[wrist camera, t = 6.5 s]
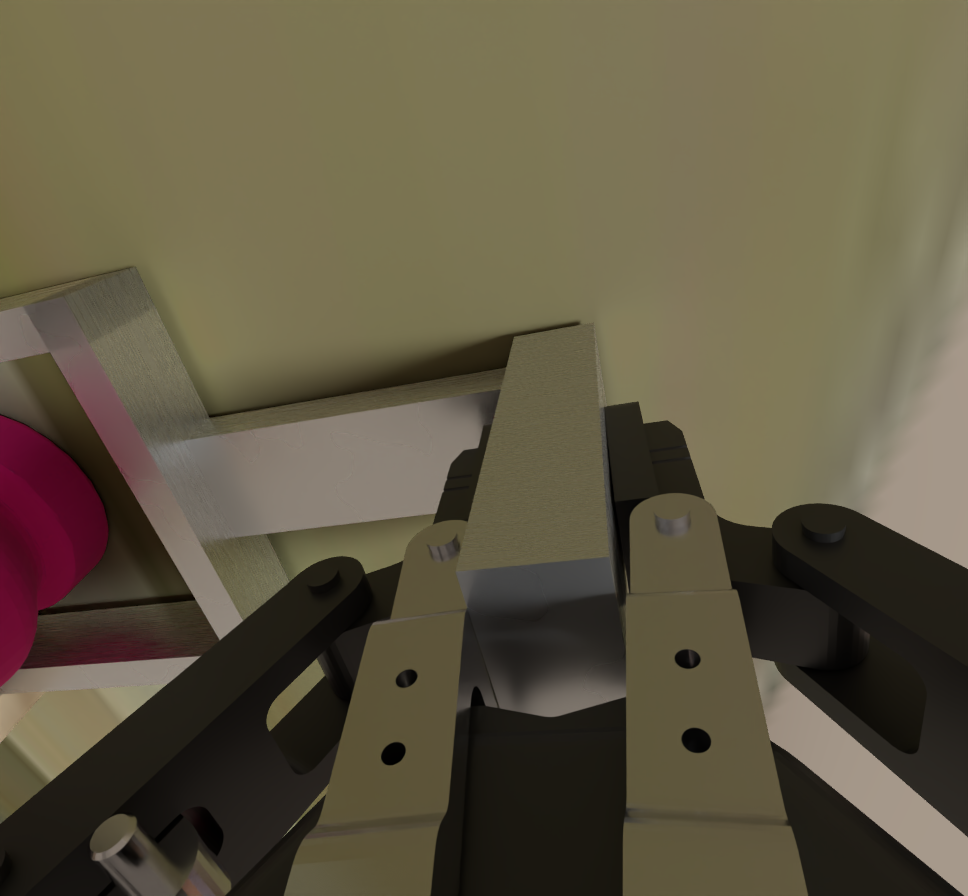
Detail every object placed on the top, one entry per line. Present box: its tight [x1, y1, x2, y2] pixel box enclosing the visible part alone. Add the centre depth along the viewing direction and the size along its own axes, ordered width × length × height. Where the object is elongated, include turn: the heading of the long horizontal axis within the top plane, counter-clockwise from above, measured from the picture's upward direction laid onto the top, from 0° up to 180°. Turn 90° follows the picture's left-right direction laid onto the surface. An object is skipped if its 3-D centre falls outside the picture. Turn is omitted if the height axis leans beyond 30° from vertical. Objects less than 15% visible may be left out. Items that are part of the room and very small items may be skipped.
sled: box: [0, 267, 629, 717], centre depth 14 cm, size 11×22×8 cm, turn 103°
